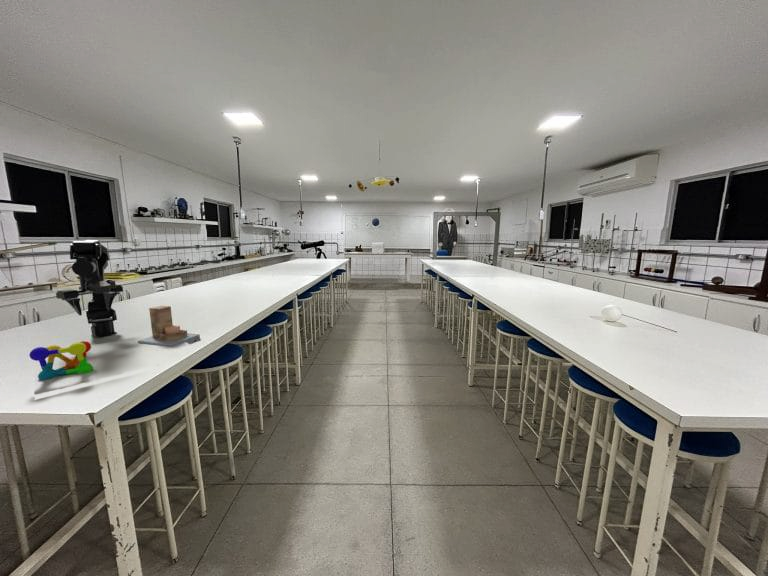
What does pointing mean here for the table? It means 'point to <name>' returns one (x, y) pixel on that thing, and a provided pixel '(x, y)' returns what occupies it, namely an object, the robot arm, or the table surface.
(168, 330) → the block
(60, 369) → the molecular model
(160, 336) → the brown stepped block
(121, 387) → the table surface
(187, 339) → the plate
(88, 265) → the robot arm
